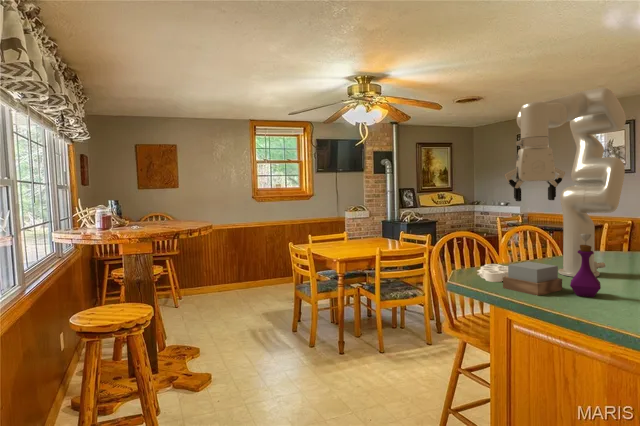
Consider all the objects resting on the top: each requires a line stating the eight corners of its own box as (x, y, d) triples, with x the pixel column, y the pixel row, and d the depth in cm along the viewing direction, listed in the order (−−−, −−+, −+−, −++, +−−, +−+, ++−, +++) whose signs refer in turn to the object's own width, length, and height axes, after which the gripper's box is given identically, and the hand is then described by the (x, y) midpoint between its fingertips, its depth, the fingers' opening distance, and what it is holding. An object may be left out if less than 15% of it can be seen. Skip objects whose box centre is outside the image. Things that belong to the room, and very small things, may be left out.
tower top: (528, 273, 143) (528, 261, 143) (557, 278, 135) (557, 265, 134) (508, 277, 139) (508, 264, 138) (537, 282, 130) (537, 269, 130)
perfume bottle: (600, 299, 123) (601, 235, 122) (569, 296, 127) (570, 234, 126) (600, 293, 129) (600, 233, 128) (571, 290, 133) (571, 232, 132)
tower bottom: (526, 284, 145) (527, 272, 145) (562, 291, 135) (562, 278, 134) (502, 289, 139) (502, 277, 139) (537, 297, 129) (537, 284, 129)
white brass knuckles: (523, 284, 145) (477, 282, 150) (518, 273, 162) (476, 272, 167) (523, 274, 145) (476, 272, 150) (518, 264, 162) (476, 263, 167)
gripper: (508, 144, 129) (509, 202, 130) (570, 141, 127) (570, 200, 129) (500, 146, 137) (501, 201, 138) (558, 143, 135) (558, 199, 136)
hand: (534, 200), depth 133 cm, fingers open, 9 cm apart
